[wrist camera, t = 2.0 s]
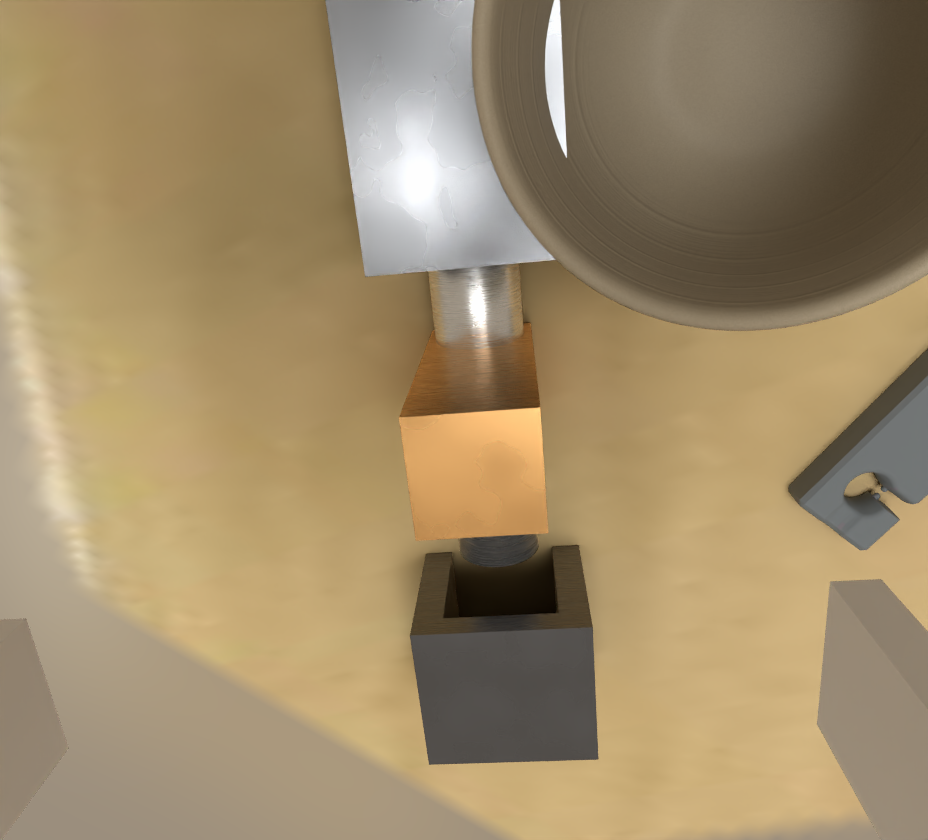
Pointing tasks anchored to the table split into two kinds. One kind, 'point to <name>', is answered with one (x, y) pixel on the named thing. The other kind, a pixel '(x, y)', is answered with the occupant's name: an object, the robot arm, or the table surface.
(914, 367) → the bracket
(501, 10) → the planter
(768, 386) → the table surface
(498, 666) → the socket
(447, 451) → the orange and grey piece
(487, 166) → the grey block
